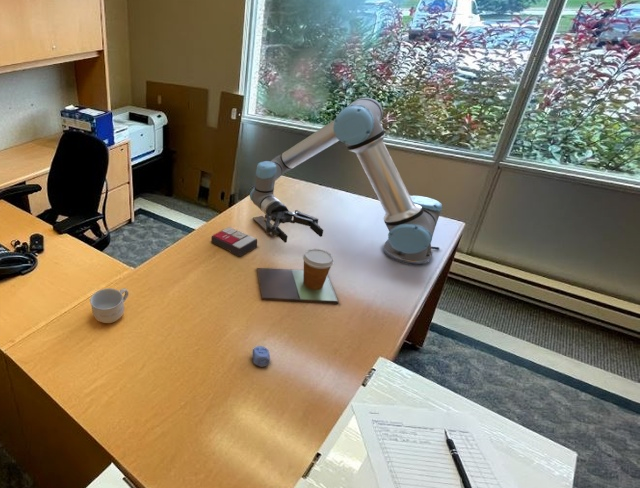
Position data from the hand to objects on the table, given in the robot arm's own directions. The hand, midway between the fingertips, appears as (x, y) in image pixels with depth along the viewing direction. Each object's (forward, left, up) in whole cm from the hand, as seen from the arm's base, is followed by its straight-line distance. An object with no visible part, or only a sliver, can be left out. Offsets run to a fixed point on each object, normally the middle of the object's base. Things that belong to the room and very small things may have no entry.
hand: (304, 236), depth 145 cm
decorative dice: (+18, +45, -15) cm, 51 cm away
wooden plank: (+7, -31, -15) cm, 36 cm away
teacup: (+64, +30, -15) cm, 72 cm away
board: (+3, +9, -15) cm, 18 cm away
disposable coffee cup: (-3, +9, -14) cm, 17 cm away
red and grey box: (+22, -16, -15) cm, 32 cm away
